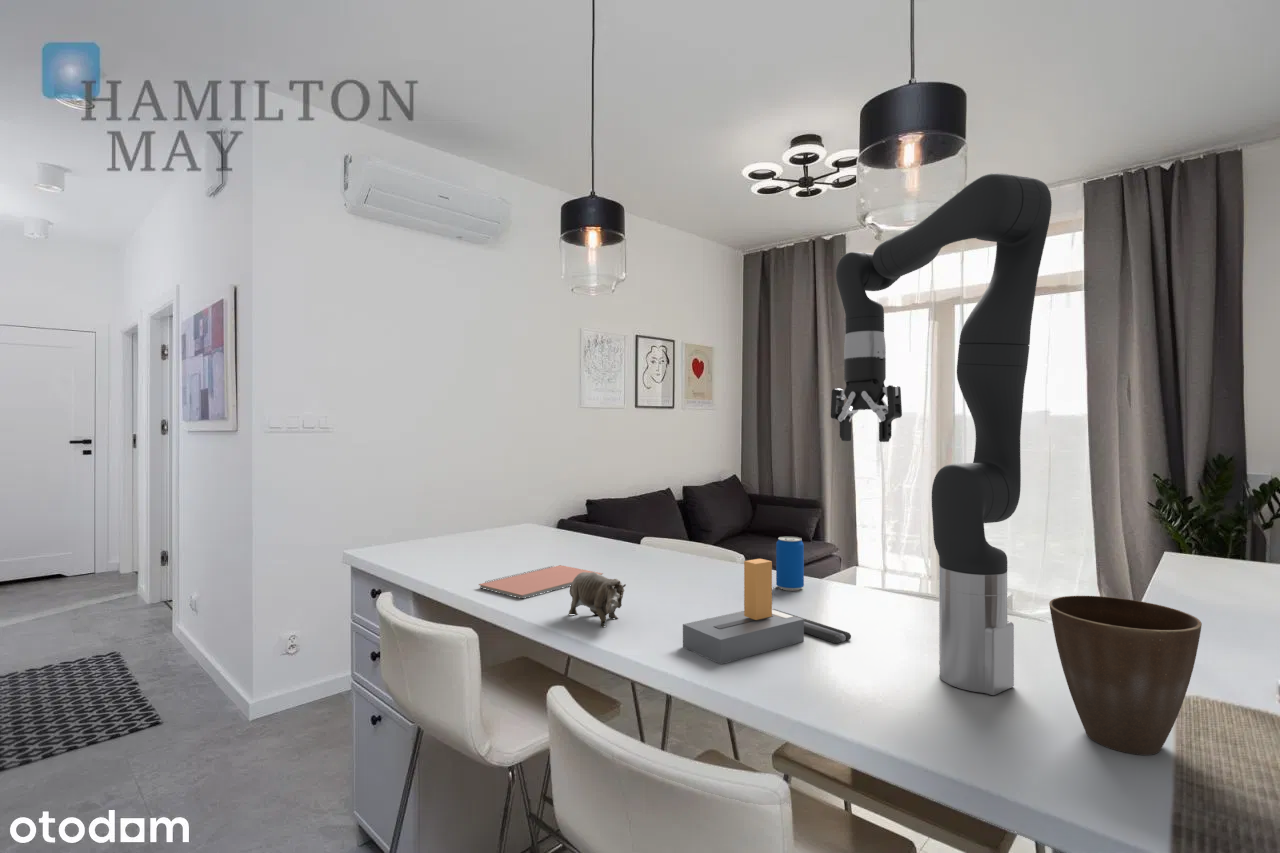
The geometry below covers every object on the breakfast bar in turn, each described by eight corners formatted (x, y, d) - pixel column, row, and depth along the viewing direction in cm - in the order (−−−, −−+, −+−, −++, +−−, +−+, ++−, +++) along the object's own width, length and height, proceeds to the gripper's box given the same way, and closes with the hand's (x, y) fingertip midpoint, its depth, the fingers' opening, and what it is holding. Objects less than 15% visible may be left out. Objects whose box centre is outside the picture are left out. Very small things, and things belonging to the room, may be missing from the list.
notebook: (557, 570, 174) (557, 563, 174) (603, 580, 164) (603, 572, 164) (475, 590, 153) (475, 582, 153) (522, 602, 142) (522, 593, 142)
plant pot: (1179, 788, 68) (1179, 639, 68) (1028, 734, 80) (1028, 607, 80) (1218, 747, 76) (1217, 614, 77) (1076, 703, 89) (1076, 589, 89)
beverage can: (801, 585, 156) (801, 536, 156) (805, 591, 150) (805, 541, 150) (774, 584, 157) (774, 536, 157) (777, 591, 150) (777, 540, 150)
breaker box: (803, 641, 115) (803, 618, 115) (720, 664, 103) (720, 639, 104) (763, 626, 123) (763, 605, 123) (682, 646, 112) (682, 623, 112)
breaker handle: (771, 616, 115) (771, 561, 115) (756, 620, 113) (755, 563, 113) (760, 612, 118) (760, 558, 118) (744, 616, 115) (744, 561, 115)
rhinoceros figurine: (589, 593, 138) (608, 544, 130) (622, 643, 130) (643, 594, 122) (558, 603, 133) (575, 552, 126) (590, 655, 125) (610, 604, 117)
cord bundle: (852, 640, 115) (852, 632, 115) (816, 651, 110) (816, 643, 110) (774, 614, 131) (774, 607, 131) (738, 622, 126) (738, 615, 126)
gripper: (822, 359, 126) (822, 441, 125) (885, 352, 114) (885, 442, 114) (846, 361, 130) (846, 440, 130) (910, 354, 118) (910, 441, 118)
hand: (864, 441), depth 122 cm, fingers open, 8 cm apart
